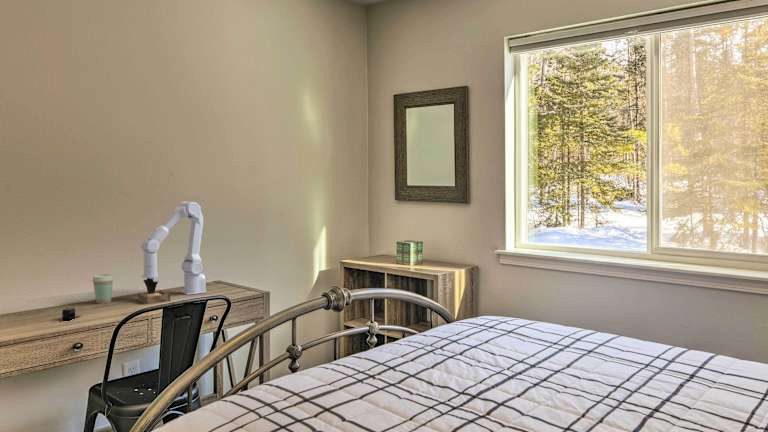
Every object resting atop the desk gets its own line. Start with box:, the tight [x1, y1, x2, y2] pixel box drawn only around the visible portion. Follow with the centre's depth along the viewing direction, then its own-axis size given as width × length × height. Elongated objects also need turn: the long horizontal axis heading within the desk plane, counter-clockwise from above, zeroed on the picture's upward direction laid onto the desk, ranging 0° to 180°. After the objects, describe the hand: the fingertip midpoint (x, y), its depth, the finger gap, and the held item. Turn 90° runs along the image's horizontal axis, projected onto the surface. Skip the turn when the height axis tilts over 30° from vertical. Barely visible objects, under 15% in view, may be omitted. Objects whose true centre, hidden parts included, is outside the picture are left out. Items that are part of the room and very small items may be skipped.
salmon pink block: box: [145, 292, 161, 297], centre depth 270 cm, size 5×6×3 cm
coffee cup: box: [91, 273, 114, 305], centre depth 266 cm, size 9×8×12 cm
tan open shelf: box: [137, 290, 171, 305], centre depth 271 cm, size 11×11×3 cm
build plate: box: [57, 307, 82, 322], centre depth 237 cm, size 12×7×5 cm, turn 178°
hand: (151, 294), depth 273 cm, fingers closed
